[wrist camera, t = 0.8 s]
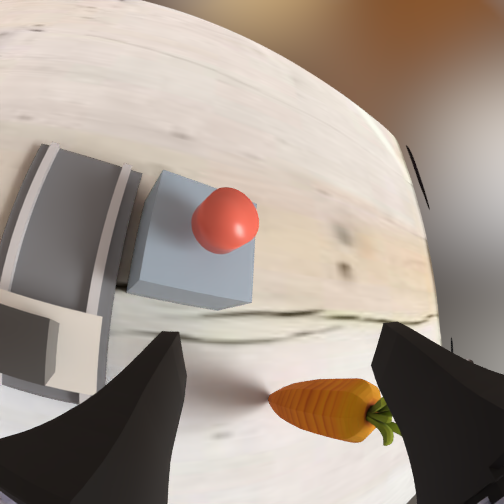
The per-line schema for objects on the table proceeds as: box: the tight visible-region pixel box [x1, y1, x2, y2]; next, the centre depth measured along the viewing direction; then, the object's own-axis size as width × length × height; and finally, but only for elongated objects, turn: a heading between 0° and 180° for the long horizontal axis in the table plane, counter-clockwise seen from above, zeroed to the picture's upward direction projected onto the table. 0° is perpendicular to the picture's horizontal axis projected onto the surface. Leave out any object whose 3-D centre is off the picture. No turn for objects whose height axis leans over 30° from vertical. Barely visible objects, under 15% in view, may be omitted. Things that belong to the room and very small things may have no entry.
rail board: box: [0, 142, 142, 404], centre depth 16 cm, size 19×10×2 cm, turn 177°
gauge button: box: [191, 187, 259, 254], centre depth 17 cm, size 4×4×2 cm
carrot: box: [268, 378, 402, 446], centre depth 18 cm, size 5×5×15 cm
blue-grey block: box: [126, 170, 257, 310], centre depth 21 cm, size 8×8×5 cm
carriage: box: [0, 289, 103, 395], centre depth 11 cm, size 5×8×7 cm, turn 87°
